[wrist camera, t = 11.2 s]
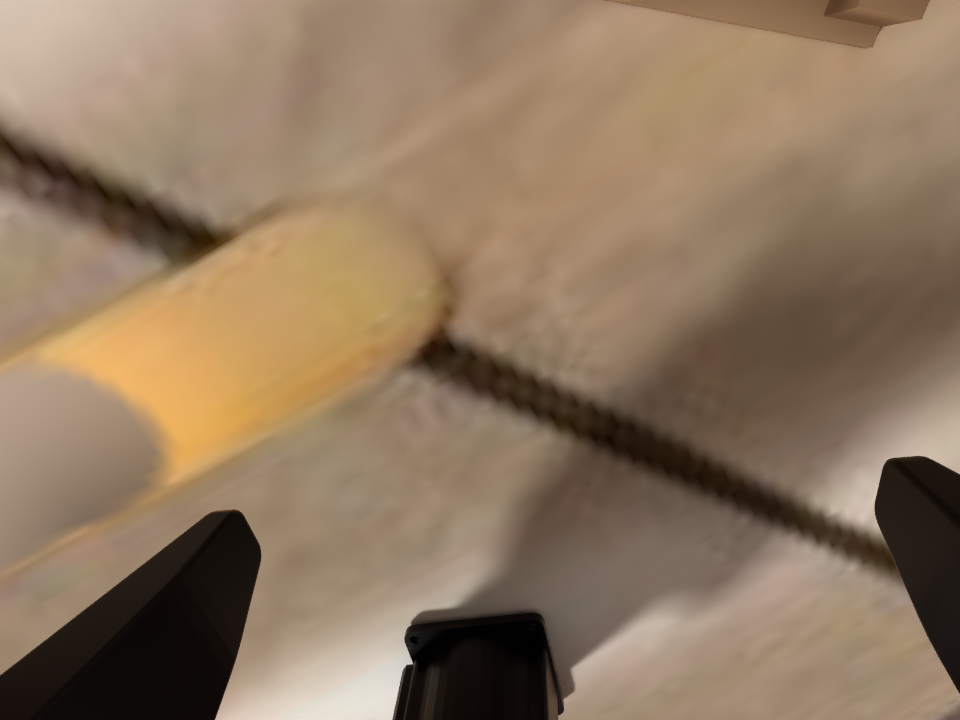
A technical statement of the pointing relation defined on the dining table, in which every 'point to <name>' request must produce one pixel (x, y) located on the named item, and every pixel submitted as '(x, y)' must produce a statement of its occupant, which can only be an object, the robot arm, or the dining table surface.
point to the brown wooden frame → (801, 15)
